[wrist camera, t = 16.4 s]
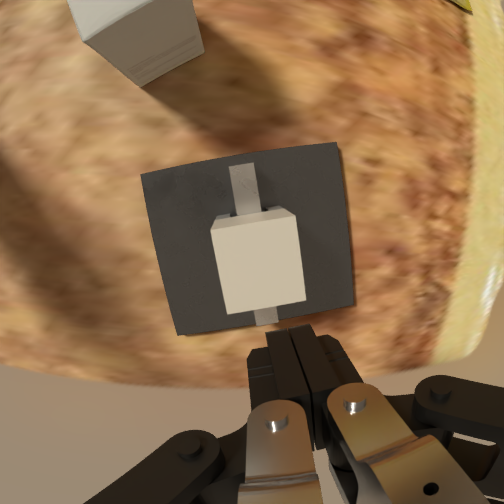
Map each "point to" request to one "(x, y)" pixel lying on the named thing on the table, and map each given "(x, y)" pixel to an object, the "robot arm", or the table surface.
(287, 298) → the block
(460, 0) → the food package
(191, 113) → the table surface
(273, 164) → the rail board
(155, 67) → the supplement box
